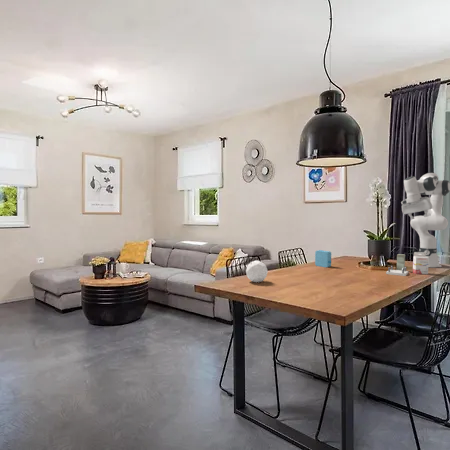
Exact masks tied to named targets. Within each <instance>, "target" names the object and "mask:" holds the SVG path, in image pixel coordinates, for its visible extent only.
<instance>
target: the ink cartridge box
mask: <svg viewBox="0 0 450 450" xmlns="http://www.w3.org/2000/svg"><path fill="white" fill-rule="evenodd" d="M419 253H420V254H422V255H418V254H419ZM428 266H429V257H426V252H419V251H414V252H413V261H412V273H413V274H415V275H429V267H428Z"/></svg>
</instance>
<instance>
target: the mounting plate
mask: <svg viewBox="0 0 450 450" xmlns="http://www.w3.org/2000/svg"><path fill="white" fill-rule="evenodd" d="M385 274H386V275H392V276H400V277H406V276H408V274H409V270H406V271H404V273H402V270H397V269H393V270H391V268H390V272H388V270H387V271H386V272H385Z"/></svg>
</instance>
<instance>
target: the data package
mask: <svg viewBox="0 0 450 450" xmlns="http://www.w3.org/2000/svg"><path fill="white" fill-rule="evenodd" d="M314 255H315V256H314V257H315V259H314V265H315V266H316V267H321V268H322V267H323V268H330V267H331V266H332V252H331V251H329V250H321V249H319V250H316V251H315V254H314Z"/></svg>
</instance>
